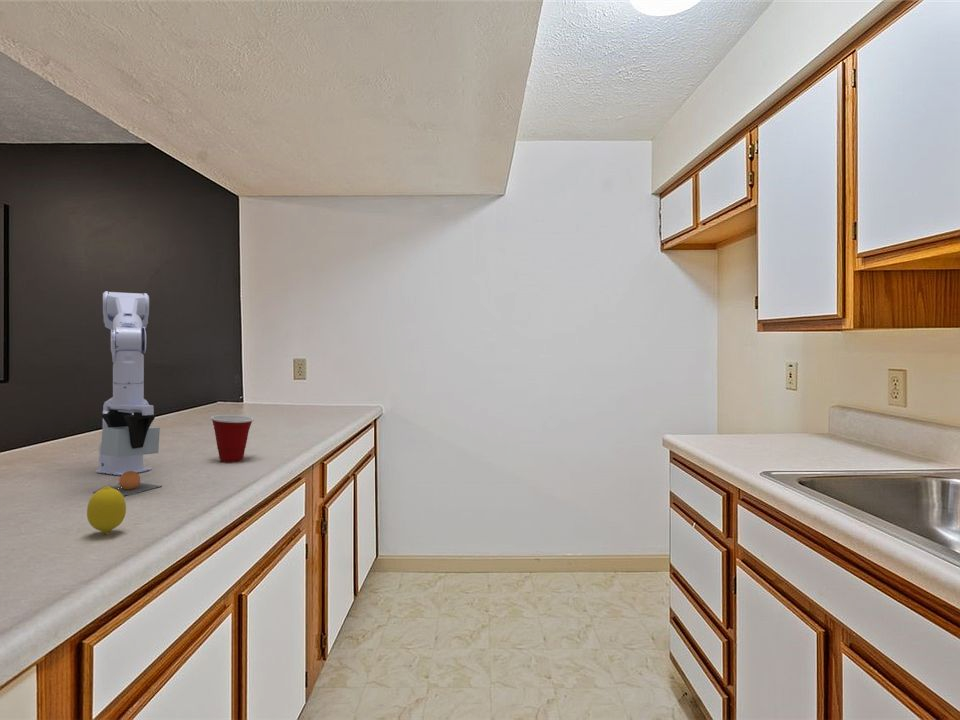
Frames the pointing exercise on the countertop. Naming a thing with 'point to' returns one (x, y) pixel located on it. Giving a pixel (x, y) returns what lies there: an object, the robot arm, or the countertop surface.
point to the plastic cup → (231, 436)
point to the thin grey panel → (139, 488)
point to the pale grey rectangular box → (127, 442)
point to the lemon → (106, 509)
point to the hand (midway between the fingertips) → (128, 446)
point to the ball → (129, 480)
